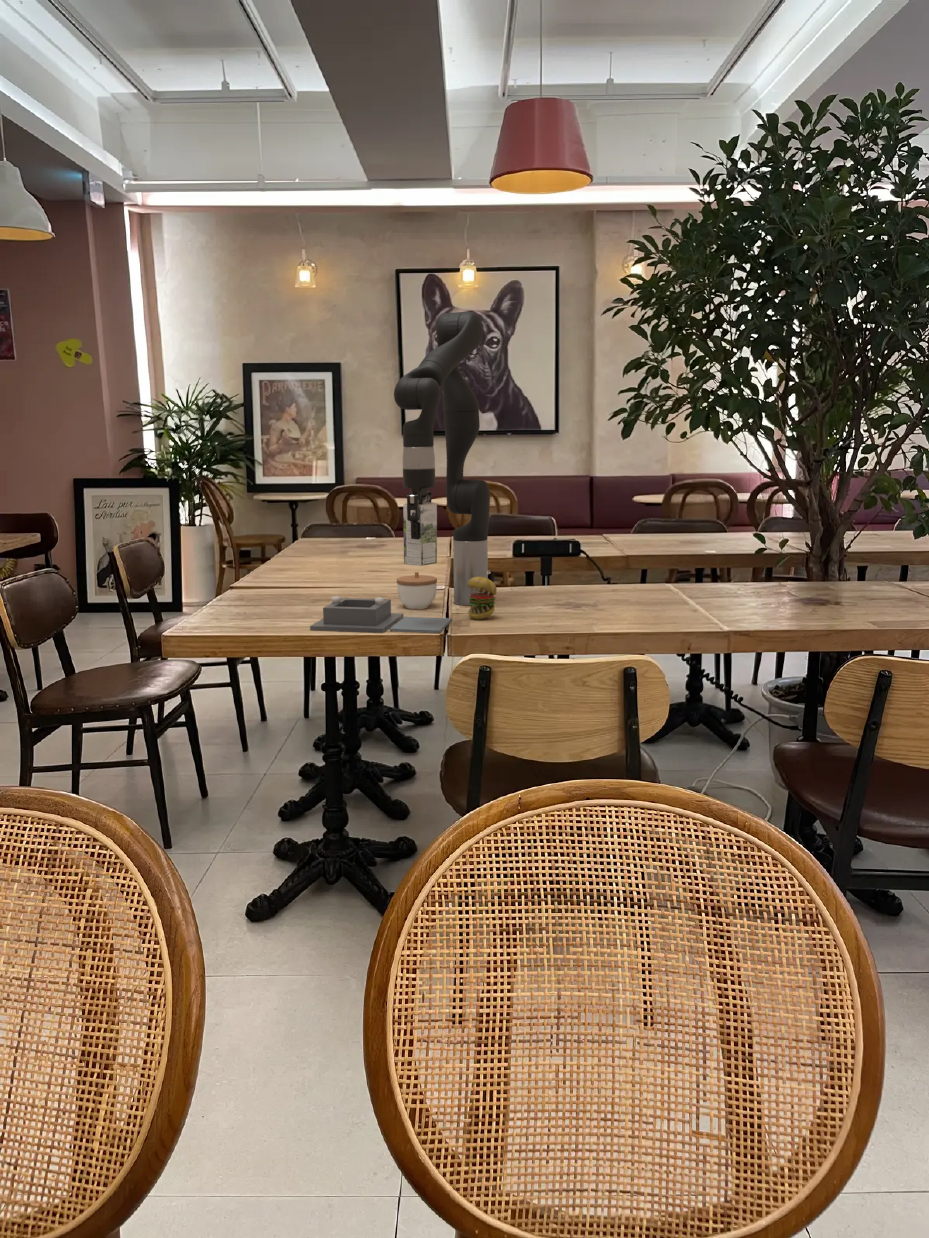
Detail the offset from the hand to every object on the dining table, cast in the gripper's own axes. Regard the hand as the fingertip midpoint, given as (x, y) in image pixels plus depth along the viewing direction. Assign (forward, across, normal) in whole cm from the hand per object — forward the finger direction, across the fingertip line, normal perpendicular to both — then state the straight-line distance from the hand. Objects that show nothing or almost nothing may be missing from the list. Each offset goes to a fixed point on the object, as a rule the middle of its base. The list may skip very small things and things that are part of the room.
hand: (420, 537), depth 213 cm
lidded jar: (+22, +23, +7) cm, 32 cm away
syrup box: (+7, 0, 0) cm, 7 cm away
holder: (+21, 0, +16) cm, 27 cm away
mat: (+21, 0, 0) cm, 21 cm away
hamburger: (+22, +11, -13) cm, 28 cm away
